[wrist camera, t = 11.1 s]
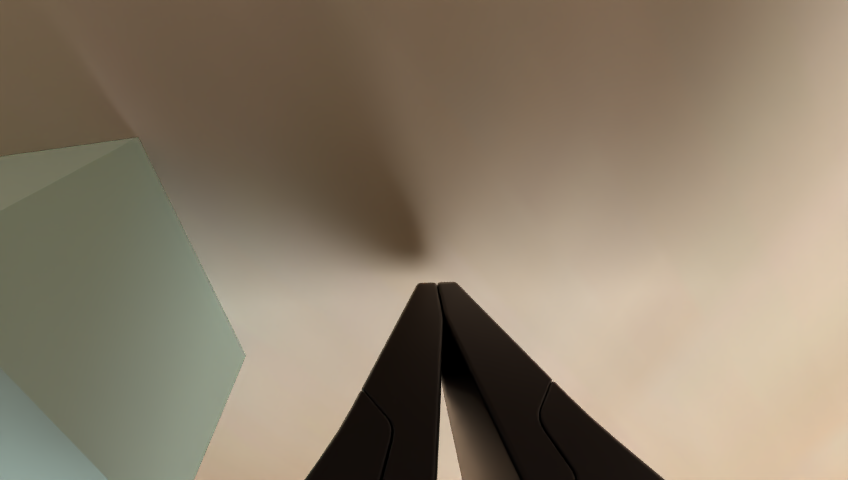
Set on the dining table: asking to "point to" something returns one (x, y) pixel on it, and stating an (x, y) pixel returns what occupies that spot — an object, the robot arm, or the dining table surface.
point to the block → (104, 322)
